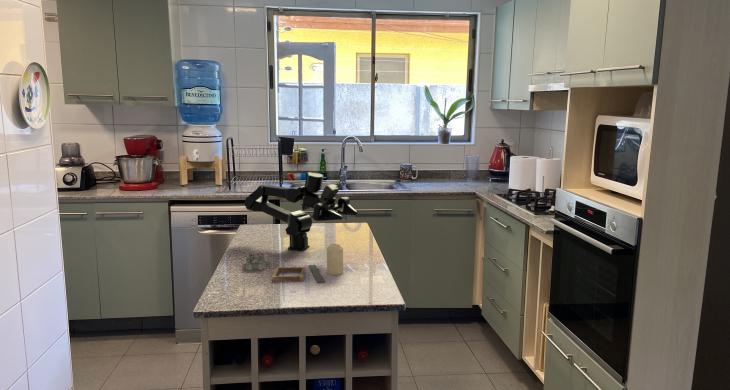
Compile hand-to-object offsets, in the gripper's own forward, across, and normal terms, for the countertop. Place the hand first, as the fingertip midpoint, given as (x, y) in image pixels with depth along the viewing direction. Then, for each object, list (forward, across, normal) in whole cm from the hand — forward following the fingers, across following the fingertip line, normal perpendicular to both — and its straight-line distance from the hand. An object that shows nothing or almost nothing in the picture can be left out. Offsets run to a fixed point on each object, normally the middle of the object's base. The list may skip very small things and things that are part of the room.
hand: (349, 215), depth 188 cm
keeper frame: (-2, -27, +17) cm, 32 cm away
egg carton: (-19, -25, +21) cm, 38 cm away
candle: (+8, -15, +15) cm, 23 cm away
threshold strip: (+4, -20, +16) cm, 26 cm away
